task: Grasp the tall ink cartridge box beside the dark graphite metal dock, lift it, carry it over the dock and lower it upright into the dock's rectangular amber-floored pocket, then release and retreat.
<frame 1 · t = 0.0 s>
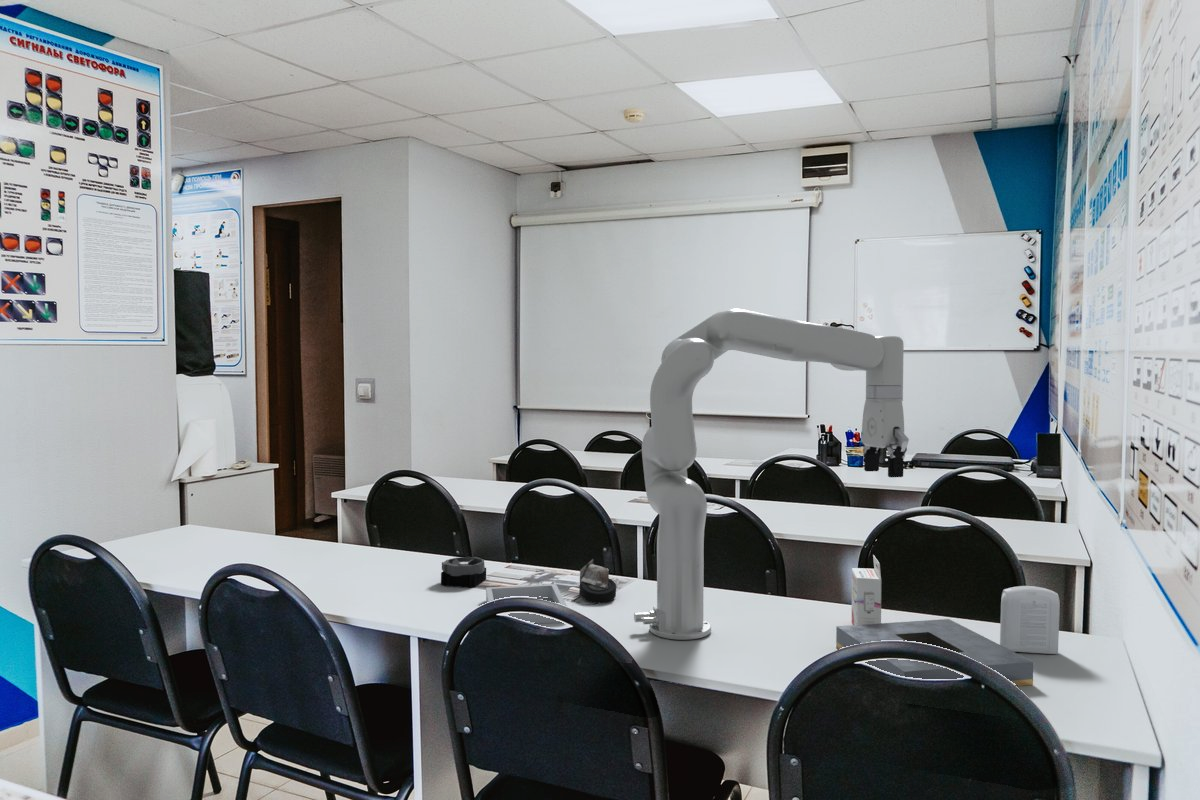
hand: (883, 473, 176), 31 cm above the table, fingers open, 9 cm apart
cpu cooler: (464, 583, 207), on the table
charger corral: (525, 610, 183), on the table
ink cartridge box: (865, 629, 170), on the table
dock: (928, 664, 150), on the table
photo printer: (1028, 651, 157), on the table
caster wheel: (598, 597, 194), on the table
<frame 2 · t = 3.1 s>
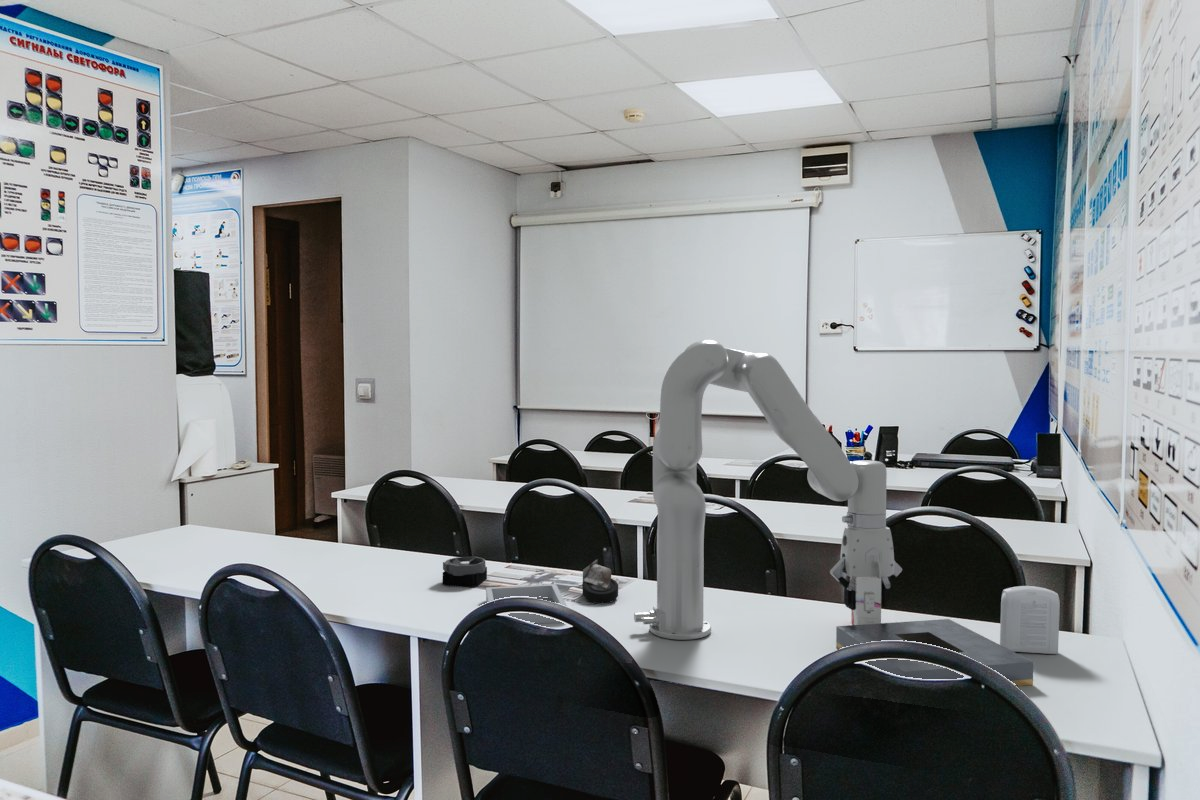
hand: (865, 606, 170), 5 cm above the table, fingers closed on ink cartridge box, 6 cm apart
ink cartridge box: (865, 629, 170), on the table, touching gripper
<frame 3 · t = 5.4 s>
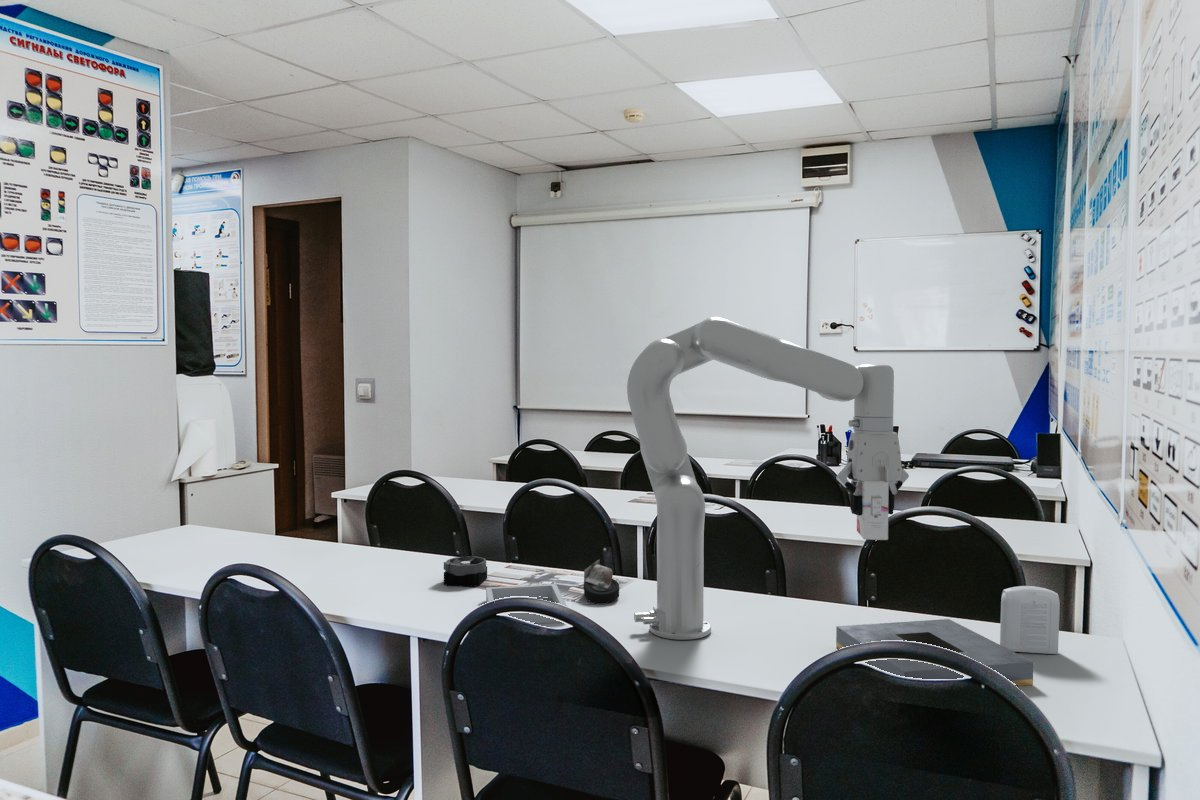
hand: (872, 512, 167), 24 cm above the table, fingers closed on ink cartridge box, 6 cm apart
ink cartridge box: (871, 536, 167), point 20 cm above the table, touching gripper
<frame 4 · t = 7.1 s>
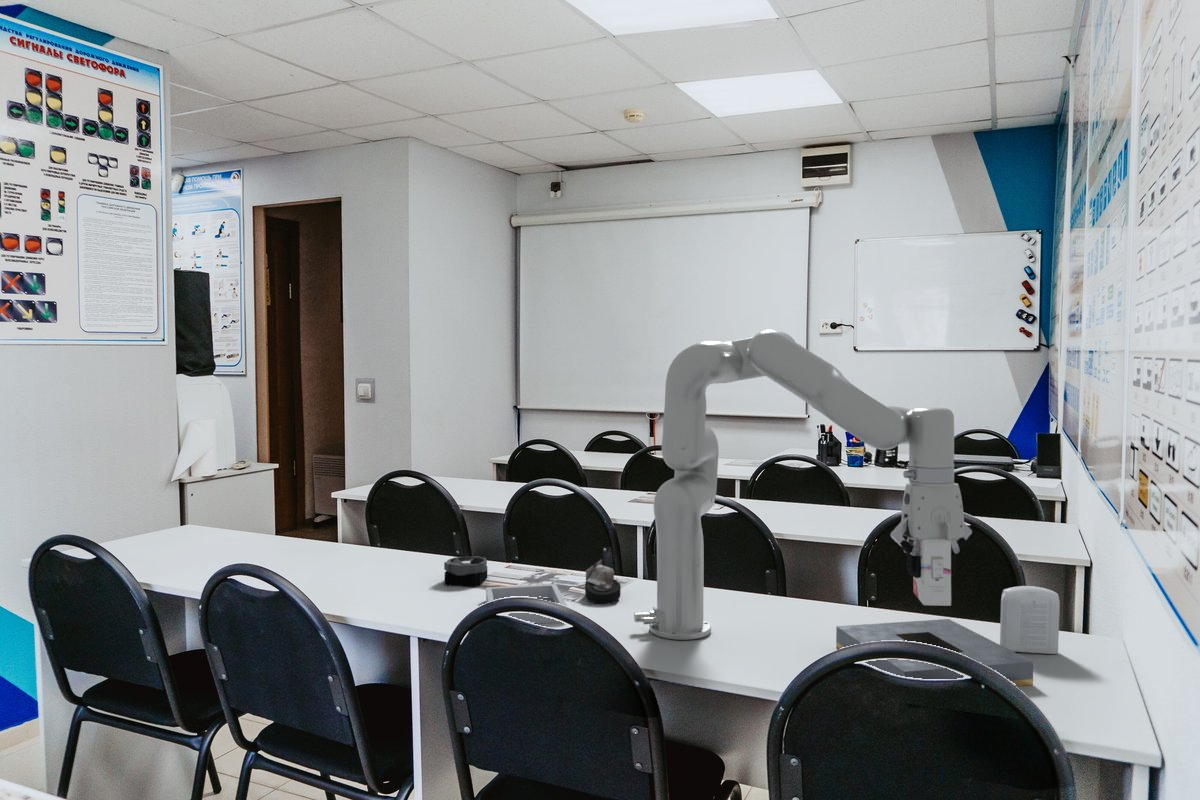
hand: (931, 574, 149), 17 cm above the table, fingers closed on ink cartridge box, 6 cm apart
ink cartridge box: (931, 600, 149), point 12 cm above the table, touching gripper
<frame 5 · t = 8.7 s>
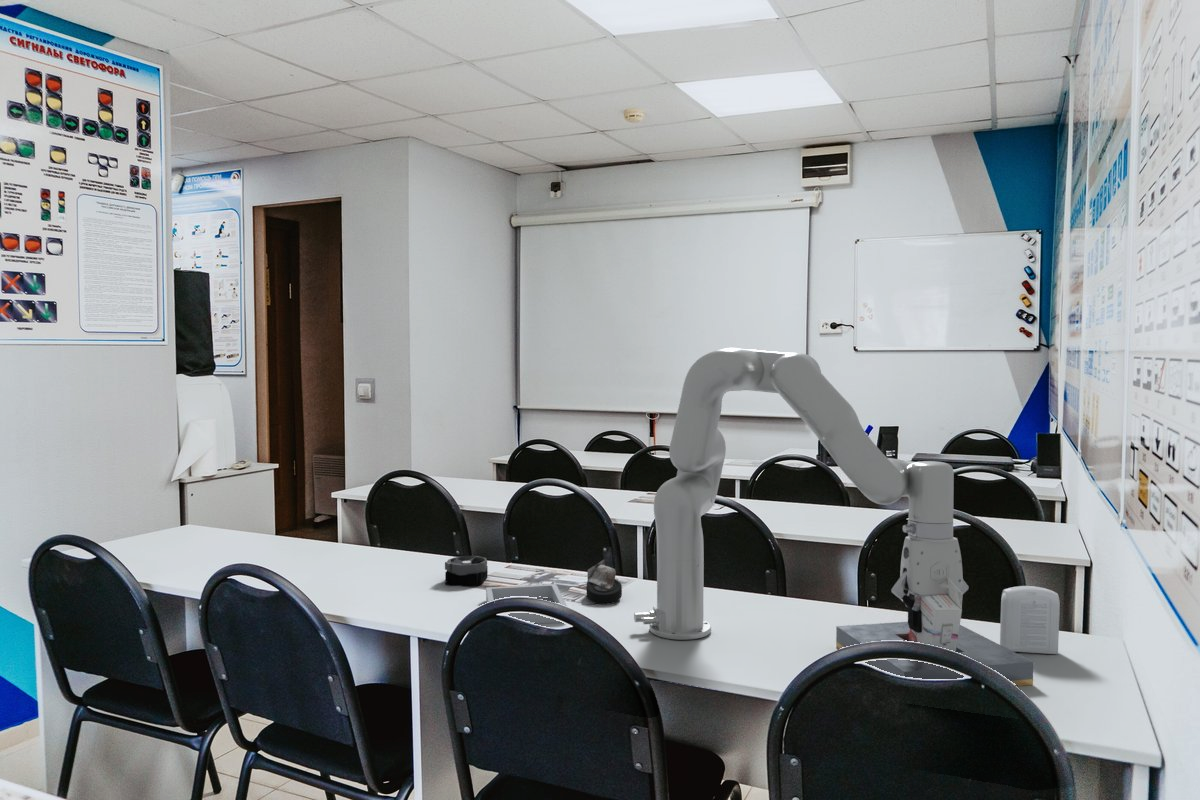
hand: (929, 628, 149), 7 cm above the table, fingers closed on ink cartridge box, 5 cm apart
ink cartridge box: (929, 654, 149), point 2 cm above the table, touching dock, gripper
when the fingers open (7 cm above the table, at t = 9.0 s): ink cartridge box drops 1 cm, resting on dock.
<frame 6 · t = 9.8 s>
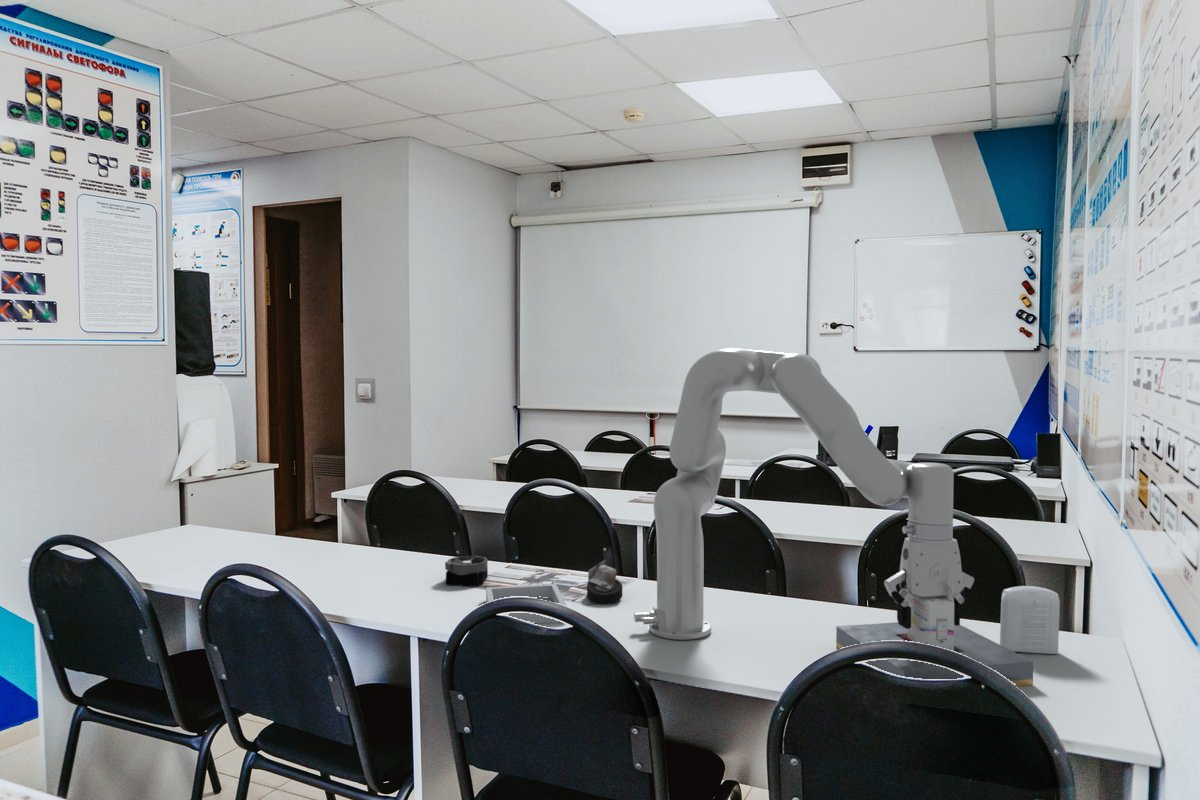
hand: (928, 624, 149), 7 cm above the table, fingers open, 9 cm apart
ink cartridge box: (929, 660, 149), point 1 cm above the table, touching dock
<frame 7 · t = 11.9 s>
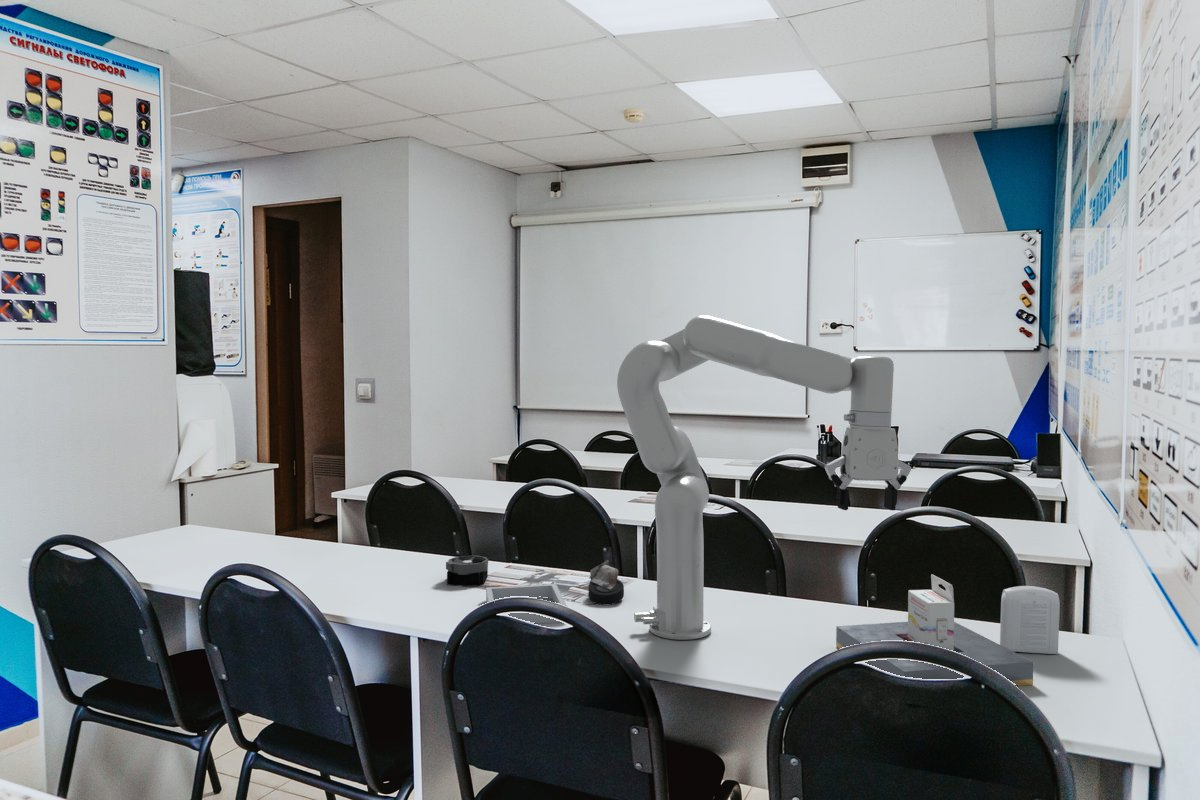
hand: (866, 508, 159), 27 cm above the table, fingers open, 9 cm apart
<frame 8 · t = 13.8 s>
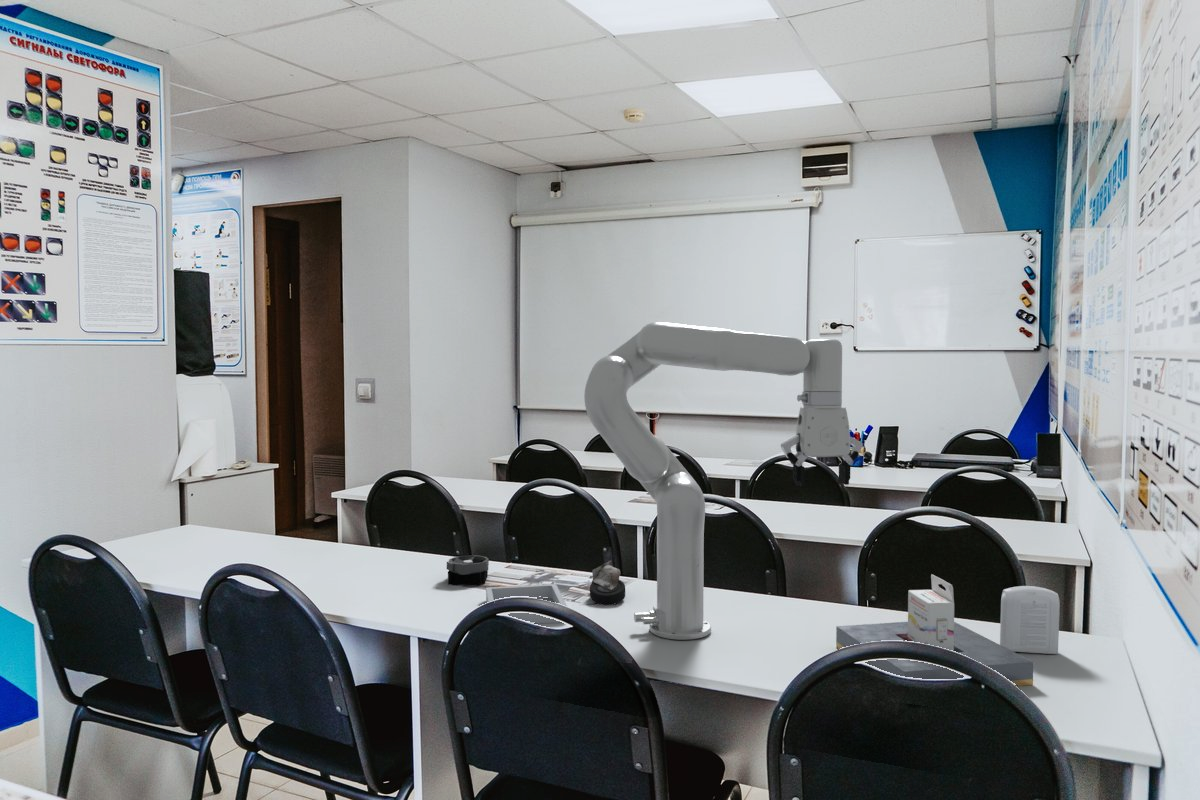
hand: (821, 484, 167), 30 cm above the table, fingers open, 9 cm apart
at the end: ink cartridge box 0.2 cm off-centre on the dock, point 0.8 cm above the dock's base; ink cartridge box tilted 0°; the gripper is holding nothing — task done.
